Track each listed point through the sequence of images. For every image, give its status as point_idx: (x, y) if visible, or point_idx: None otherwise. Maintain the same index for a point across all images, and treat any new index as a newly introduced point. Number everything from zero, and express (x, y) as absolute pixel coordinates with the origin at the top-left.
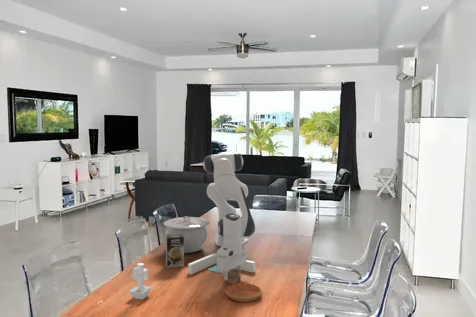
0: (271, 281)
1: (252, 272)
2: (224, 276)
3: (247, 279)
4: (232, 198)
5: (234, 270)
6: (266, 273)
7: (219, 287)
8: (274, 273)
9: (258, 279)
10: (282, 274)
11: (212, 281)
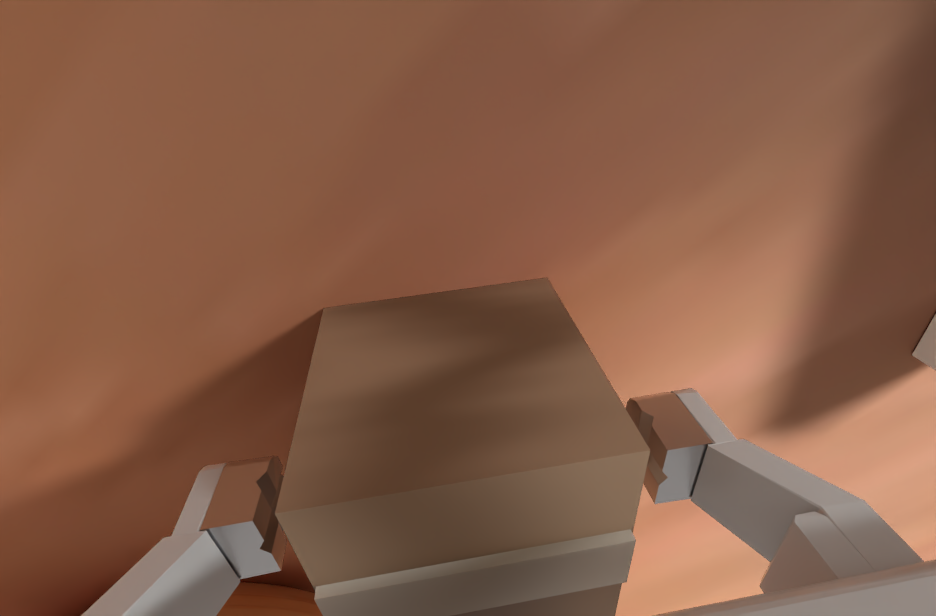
0: (695, 588)
1: (917, 346)
2: (179, 522)
3: None
4: None
5: (491, 603)
6: (911, 460)
7: (67, 422)
8: (926, 500)
9: (692, 514)
10: (909, 545)
11: (69, 103)
